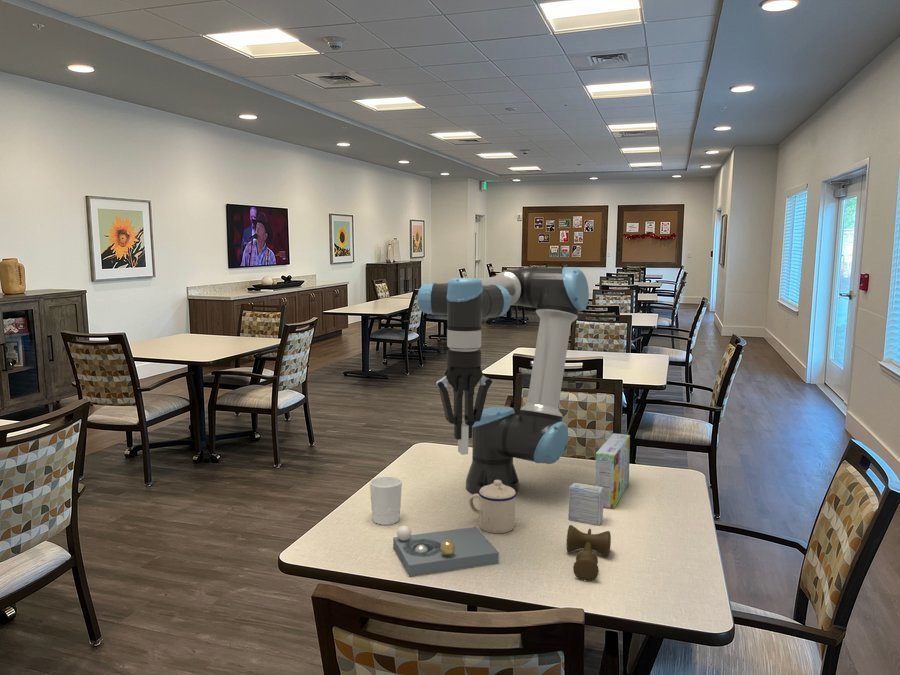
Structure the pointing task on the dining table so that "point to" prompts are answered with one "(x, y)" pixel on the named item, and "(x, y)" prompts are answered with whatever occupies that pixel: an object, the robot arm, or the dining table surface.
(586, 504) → the medicine box
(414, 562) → the gray ball tray
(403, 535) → the white ball
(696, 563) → the dining table surface
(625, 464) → the snack box
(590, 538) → the kendama
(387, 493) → the white cup
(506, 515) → the teacup with lid
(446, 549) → the brass ball
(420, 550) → the steel ball
